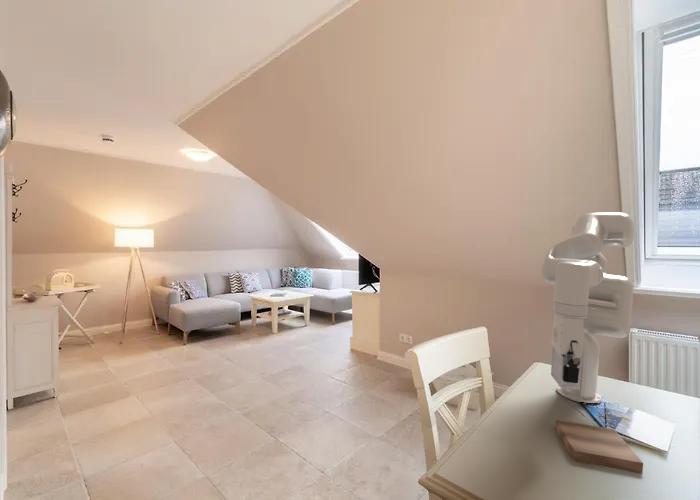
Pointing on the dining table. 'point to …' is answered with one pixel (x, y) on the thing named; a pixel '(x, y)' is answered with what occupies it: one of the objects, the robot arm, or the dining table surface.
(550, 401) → the dining table surface
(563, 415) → the dining table surface
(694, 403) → the dining table surface
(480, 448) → the dining table surface
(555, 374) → the medicine box
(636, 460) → the brown wooden block
